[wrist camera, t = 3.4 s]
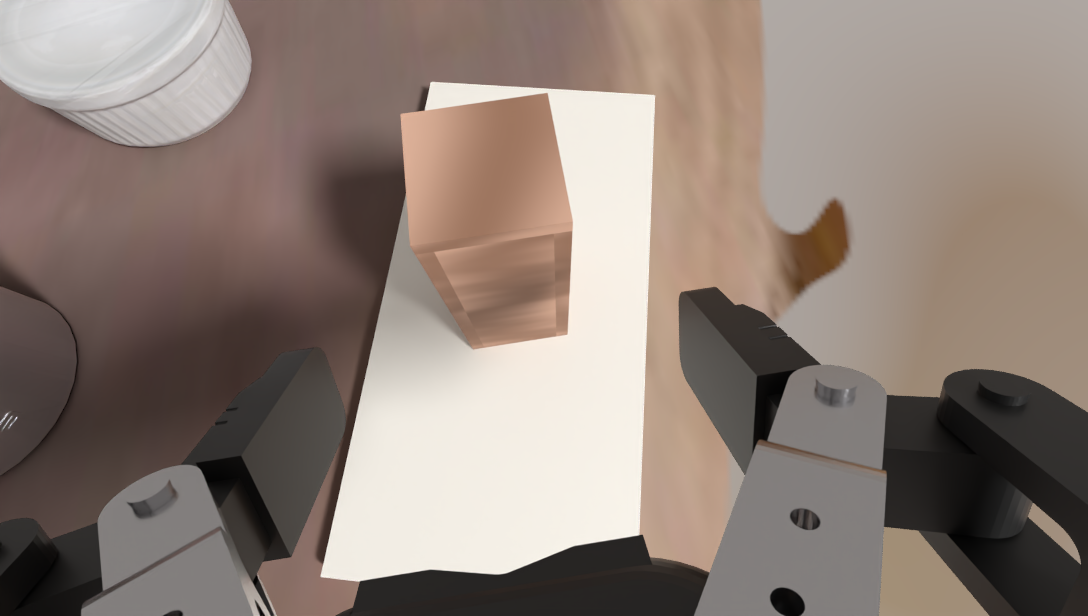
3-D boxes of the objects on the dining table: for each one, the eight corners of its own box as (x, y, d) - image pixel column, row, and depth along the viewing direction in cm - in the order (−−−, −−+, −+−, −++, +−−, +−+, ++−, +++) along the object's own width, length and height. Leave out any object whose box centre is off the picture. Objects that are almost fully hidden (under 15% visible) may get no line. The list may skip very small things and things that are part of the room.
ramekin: (198, -15, 32) (132, -107, 27) (311, 74, 29) (261, -11, 24) (40, 94, 29) (-66, 14, 25) (148, 203, 27) (54, 137, 22)
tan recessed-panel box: (473, 349, 22) (409, 246, 13) (463, 263, 24) (400, 114, 14) (567, 334, 22) (572, 221, 13) (552, 249, 24) (547, 92, 14)
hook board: (435, 95, 28) (397, -24, 22) (651, 108, 28) (680, -11, 21) (331, 572, 20) (222, 611, 14) (632, 609, 20) (669, 669, 13)
